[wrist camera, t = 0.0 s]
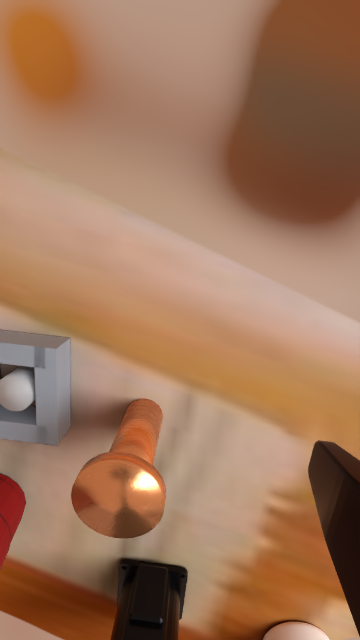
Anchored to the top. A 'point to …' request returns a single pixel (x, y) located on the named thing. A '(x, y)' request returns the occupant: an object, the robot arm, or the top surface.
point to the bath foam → (295, 632)
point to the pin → (124, 478)
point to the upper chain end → (35, 388)
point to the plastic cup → (9, 512)
